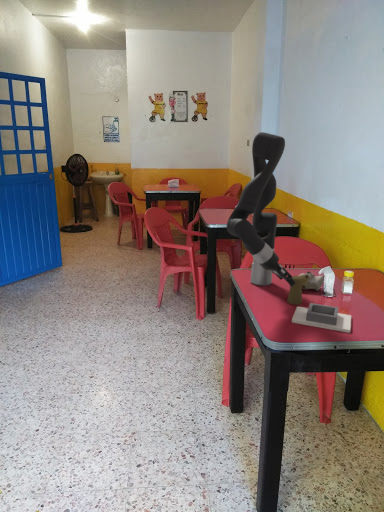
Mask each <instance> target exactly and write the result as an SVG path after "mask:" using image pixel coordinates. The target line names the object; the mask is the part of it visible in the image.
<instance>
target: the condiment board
mask: <svg viewBox="0 0 384 512" xmlns="http://www.w3.org/2000/svg"><path fill="white" fill-rule="evenodd" d="M291 323H293V324H299V325H303V326H309V327H310V326H311V327H315V328H319V329H320V328H322V329H327V330H332V331H336V332H337V331H338V332H343V333H349V334H351V329H352V328H351V327H352V315H351V314H345V313H341V312H339V307H338V306H332V305H326V304H318V303H314V302H313V303H312V302H309V306H308V307H304V306H298V305H296V308H295V311H294V313H293V315H292V318H291Z"/></svg>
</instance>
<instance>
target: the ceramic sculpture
mask: <svg viewBox="0 0 384 512" xmlns="http://www.w3.org/2000/svg"><path fill="white" fill-rule="evenodd" d="M298 276H300V277H302V278H303V284H302V285H301V286H302V290H307V291H308V290H315V291H316V292H318V291H320V290H321V287H322V285H324V280H325V279H324V278H325V275H314V273H313V272H311V271H307V272H305V273H300V274H298ZM289 287H291V286H290V285H289Z"/></svg>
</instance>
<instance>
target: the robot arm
mask: <svg viewBox="0 0 384 512" xmlns="http://www.w3.org/2000/svg"><path fill="white" fill-rule="evenodd" d="M285 148H286V141H285V138H284V137H283V136H280V135H276V134H272V133H270V132H269V133H268V132H261V131H260V132H257V133H256V134H255V136H254V139H253V141H252V148H251V149H252V150H251V154H252V164H253V178H252V179H251V180H250V181H248V183H247V184H246V185H245V186H244V188H243V190H242V192H241V194H240V197H239V200H238V202H237V204H236V206H235V208H234V209H233V211H232V212H231V214H230V215H229V217H228V218H227V219H228V220H227V222H226V230H227V232H228V234H230V235H231V236H233V237H237V238H239V239H240V240H241V241H242V245H243V247H244V248H245V250H246V251H247V252H248V253H249V254H250V255H251V256H252V258H253V259H252V262H251V271H250V272H251V273H250V284H253V285H256V286H270V285H271V284H272V281H273V280H272V279H273V274H274V275H275V276H276V277H278V279H279V280H284V281H285V282H286V283H287V284H289V287H290V286H293V285H294V284H295V281H294V280H293V279H292V277H293V275H292V274H291V273H290V272H288V270H287V269H286V268H285V267H283V265H281V263H279V261H280V257H279V255H278V254H277V253H276V252H275V243H276V241H275V240H276V232H277V226H278V216H277V213H275V212H263V211H264V209H265V208H266V207H268V206H269V205H270V204H271V202H273V200H274V199H275V198H276V194H277V180H276V177H275V175H274V171H275V170H276V168H277V166H278V164H279V162H280V160H281V158H282V157H283V154H284V152H285ZM251 215H252V221H249V220H248V218H249V216H251ZM251 222H252V223H251ZM258 233H262V234H268V235H266V236H264V237H261V236H260V235H259V234H258Z"/></svg>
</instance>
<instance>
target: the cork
mask: <svg viewBox="0 0 384 512" xmlns="http://www.w3.org/2000/svg"><path fill="white" fill-rule="evenodd" d="M292 279H293V280H294V281H295V284H294V285H293V286H291V287H290V286H289V287H290V288H289V293H288V295H287V299H286V302H287V303H288V304H290V305H296V306H298V305H302V303H303V294H302V293H303V291H302V290H303V289H302V286H301V285H302V284H303V278H302V277H300V276H299V275H292Z"/></svg>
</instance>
